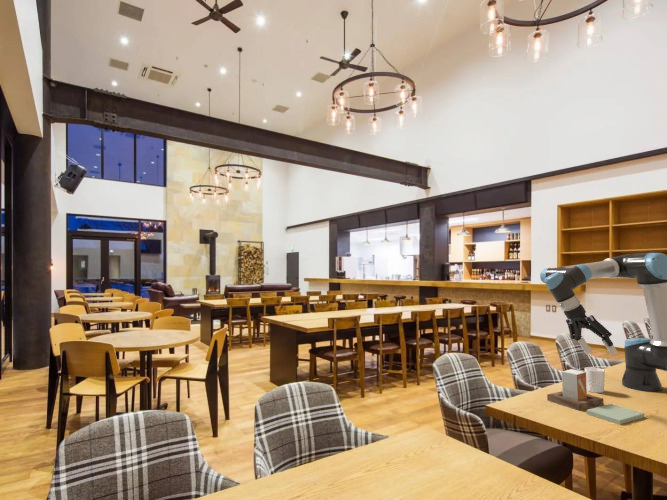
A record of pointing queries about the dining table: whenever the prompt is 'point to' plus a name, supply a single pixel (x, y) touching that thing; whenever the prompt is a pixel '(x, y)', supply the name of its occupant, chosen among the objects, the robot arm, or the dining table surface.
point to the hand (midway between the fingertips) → (601, 353)
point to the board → (615, 413)
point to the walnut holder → (589, 403)
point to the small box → (574, 385)
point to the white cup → (595, 379)
